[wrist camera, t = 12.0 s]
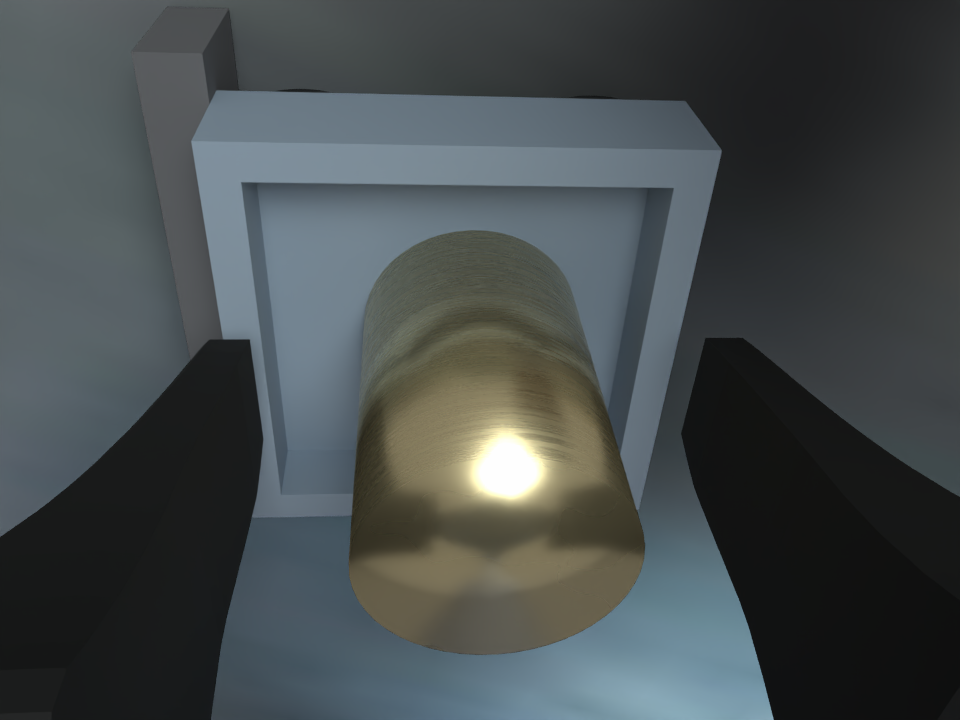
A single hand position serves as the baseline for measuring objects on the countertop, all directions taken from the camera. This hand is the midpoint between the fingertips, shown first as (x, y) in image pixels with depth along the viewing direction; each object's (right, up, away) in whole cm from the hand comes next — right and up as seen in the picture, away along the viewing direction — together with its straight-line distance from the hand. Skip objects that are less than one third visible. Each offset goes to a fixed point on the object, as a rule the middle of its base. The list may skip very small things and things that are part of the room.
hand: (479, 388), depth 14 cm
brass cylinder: (0, +1, +2) cm, 2 cm away
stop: (-5, +3, +3) cm, 7 cm away
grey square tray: (-1, +3, +4) cm, 5 cm away
